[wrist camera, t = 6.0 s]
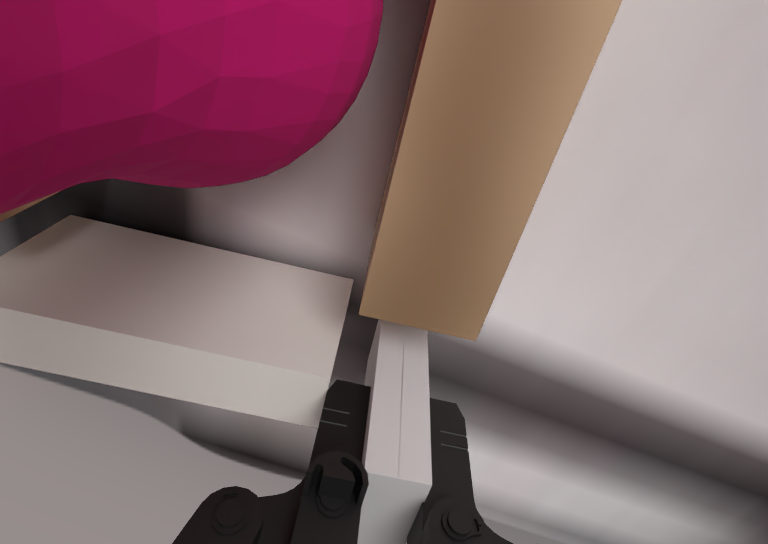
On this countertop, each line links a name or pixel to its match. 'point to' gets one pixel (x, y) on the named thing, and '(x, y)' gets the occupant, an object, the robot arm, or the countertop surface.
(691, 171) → the countertop surface
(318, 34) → the pepper mill
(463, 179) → the block
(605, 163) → the countertop surface
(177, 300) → the white rectangular block
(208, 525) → the robot arm
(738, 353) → the countertop surface
